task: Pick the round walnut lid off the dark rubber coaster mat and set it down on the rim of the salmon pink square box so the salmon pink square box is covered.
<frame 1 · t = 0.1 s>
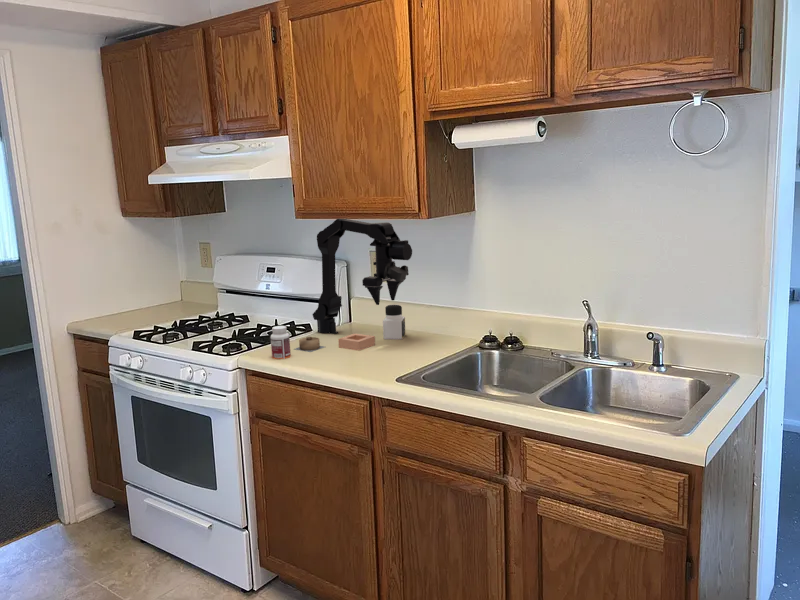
hand: (385, 302, 249), 15 cm above the counter, fingers open, 9 cm apart
pill bottle: (281, 360, 234), on the counter
walnut lid: (309, 348, 244), point 1 cm above the counter, touching coaster mat
coaster mat: (309, 350, 244), on the counter
salmon pink square box: (357, 348, 245), on the counter
medicine bottle: (394, 337, 260), on the counter
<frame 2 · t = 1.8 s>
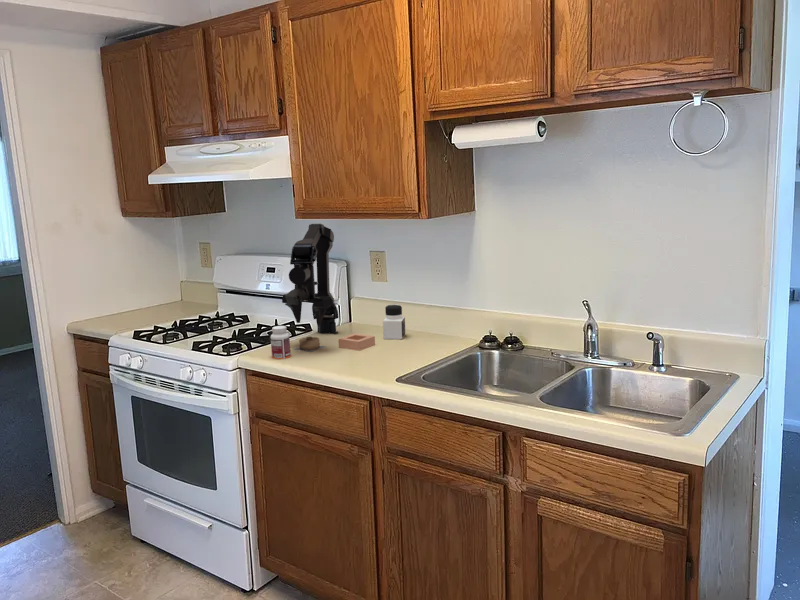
hand: (308, 324, 242), 9 cm above the counter, fingers open, 9 cm apart
nothing on the counter moved.
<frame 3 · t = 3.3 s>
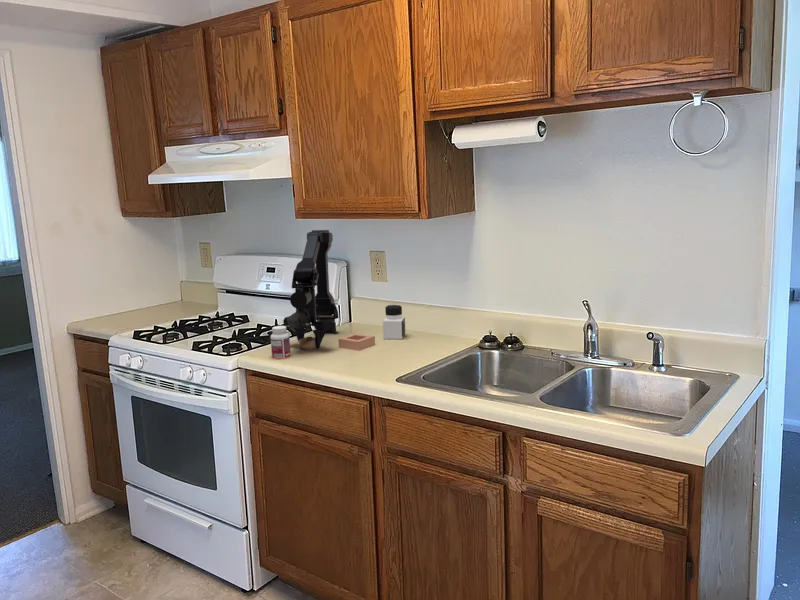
hand: (309, 347, 244), 1 cm above the counter, fingers closed on walnut lid, 7 cm apart
walnut lid: (309, 347, 244), point 1 cm above the counter, touching coaster mat, gripper
everything else where it was.
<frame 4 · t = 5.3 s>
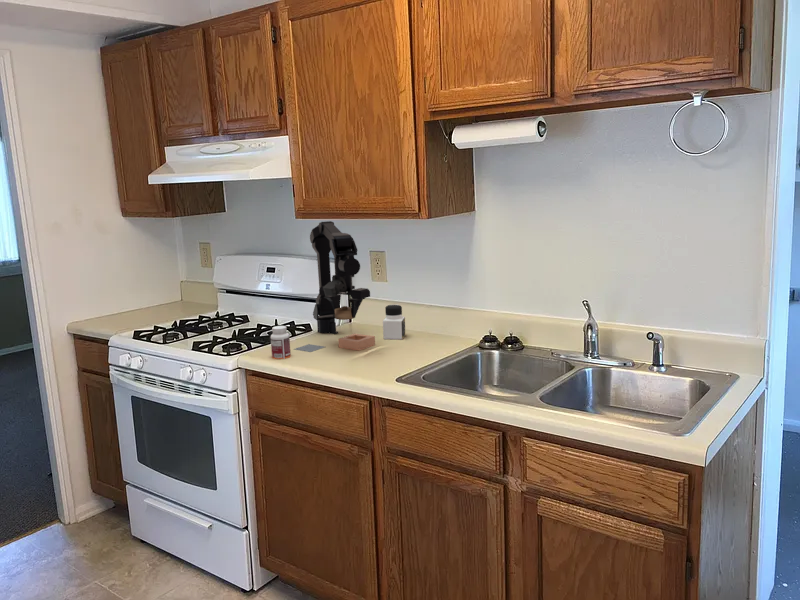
hand: (345, 316, 242), 12 cm above the counter, fingers closed on walnut lid, 7 cm apart
walnut lid: (345, 317, 242), point 11 cm above the counter, touching gripper
everything else where it was.
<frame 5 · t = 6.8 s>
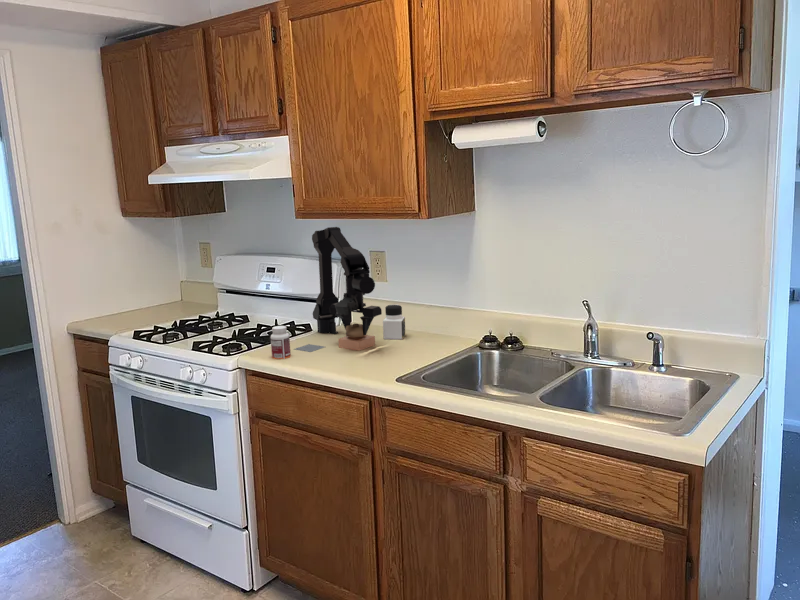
hand: (356, 333, 244), 5 cm above the counter, fingers closed on walnut lid, 7 cm apart
walnut lid: (356, 334, 244), point 5 cm above the counter, touching gripper
everything else where it was.
when the fingers open (5 cm above the counter, at t = 7.6 s): walnut lid stays where it is, resting on salmon pink square box.
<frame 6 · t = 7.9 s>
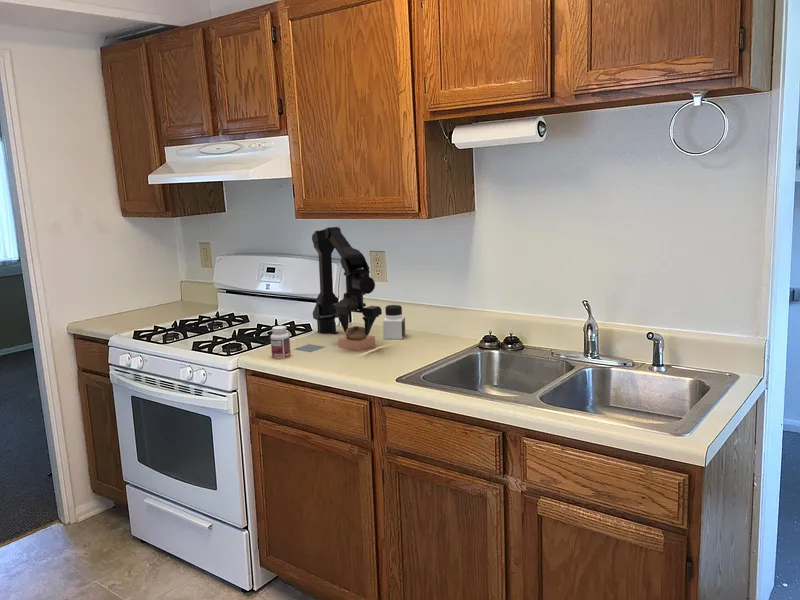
hand: (356, 333, 244), 5 cm above the counter, fingers open, 9 cm apart
walnut lid: (356, 337, 244), point 4 cm above the counter, touching salmon pink square box
everything else where it was.
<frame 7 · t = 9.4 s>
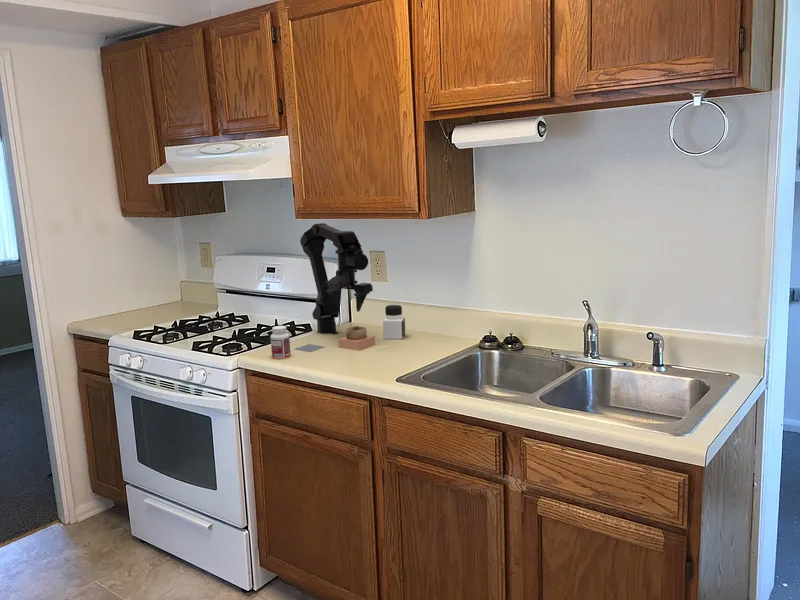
hand: (348, 310, 252), 12 cm above the counter, fingers open, 9 cm apart
nothing on the counter moved.
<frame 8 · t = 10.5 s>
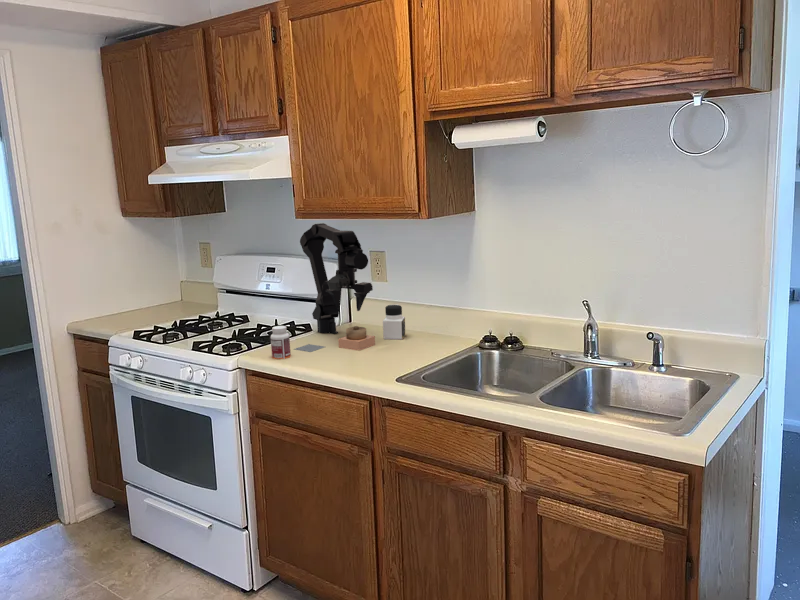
hand: (348, 309, 252), 12 cm above the counter, fingers open, 9 cm apart
nothing on the counter moved.
at the end: walnut lid 0.1 cm off-centre on the salmon pink square box, point 4.0 cm above the salmon pink square box's base; walnut lid tilted 0°; the gripper is holding nothing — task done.
